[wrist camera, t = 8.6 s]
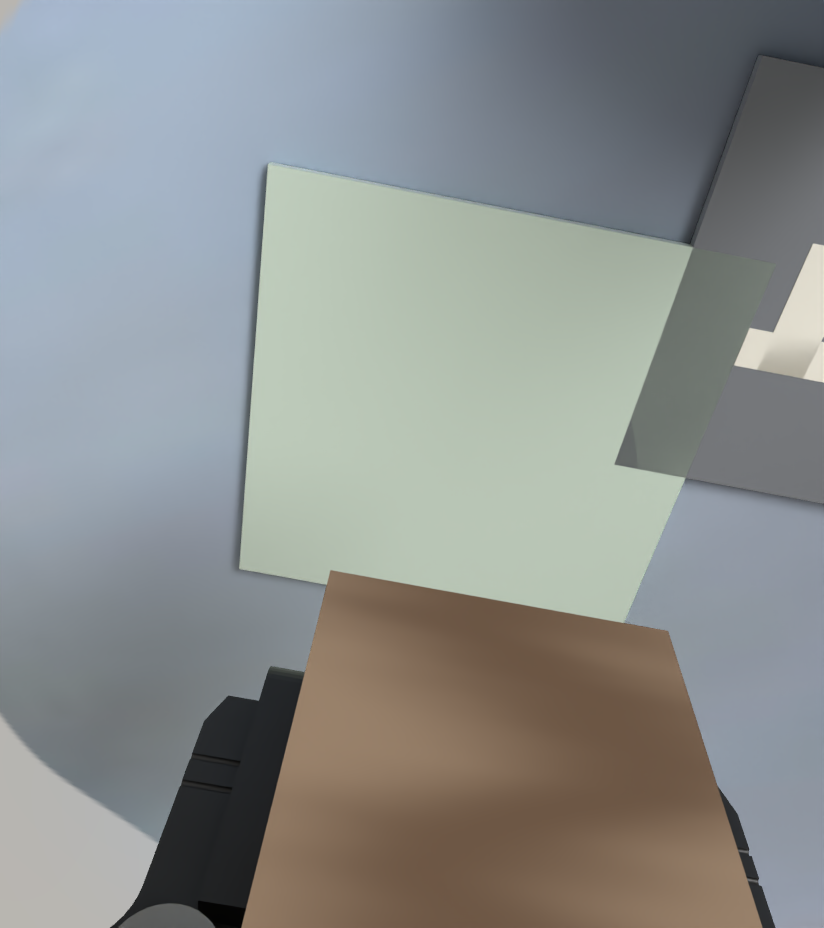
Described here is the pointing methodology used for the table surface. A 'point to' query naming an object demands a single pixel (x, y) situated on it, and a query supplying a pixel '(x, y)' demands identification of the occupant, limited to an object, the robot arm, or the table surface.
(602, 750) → the walnut block
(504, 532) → the coaster
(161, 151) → the table surface
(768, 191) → the tile
